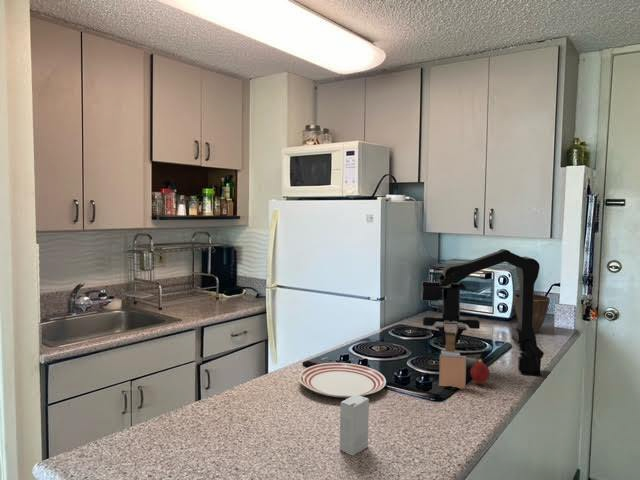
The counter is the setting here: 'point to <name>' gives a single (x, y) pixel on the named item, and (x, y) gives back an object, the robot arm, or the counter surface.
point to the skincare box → (354, 424)
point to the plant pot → (535, 310)
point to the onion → (479, 372)
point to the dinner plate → (342, 379)
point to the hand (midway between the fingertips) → (449, 345)
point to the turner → (450, 345)
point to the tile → (452, 371)
